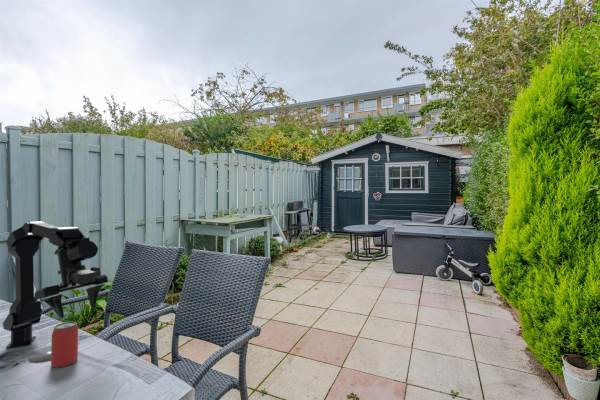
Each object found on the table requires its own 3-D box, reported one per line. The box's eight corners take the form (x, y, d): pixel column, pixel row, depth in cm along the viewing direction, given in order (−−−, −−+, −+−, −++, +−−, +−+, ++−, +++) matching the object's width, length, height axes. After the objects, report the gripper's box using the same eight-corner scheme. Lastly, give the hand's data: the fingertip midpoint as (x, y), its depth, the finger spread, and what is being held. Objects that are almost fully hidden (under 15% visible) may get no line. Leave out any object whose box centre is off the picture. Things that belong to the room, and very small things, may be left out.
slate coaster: (34, 350, 101) (34, 348, 101) (70, 344, 106) (70, 342, 106) (23, 364, 92) (23, 362, 92) (63, 357, 97) (63, 355, 97)
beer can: (62, 369, 90) (63, 330, 90) (45, 367, 91) (46, 328, 91) (82, 358, 96) (83, 321, 97) (66, 356, 98) (67, 320, 98)
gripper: (51, 265, 84) (59, 320, 82) (114, 255, 102) (122, 300, 100) (30, 272, 89) (37, 325, 87) (94, 261, 106) (101, 305, 104)
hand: (78, 313), depth 94 cm, fingers open, 9 cm apart
